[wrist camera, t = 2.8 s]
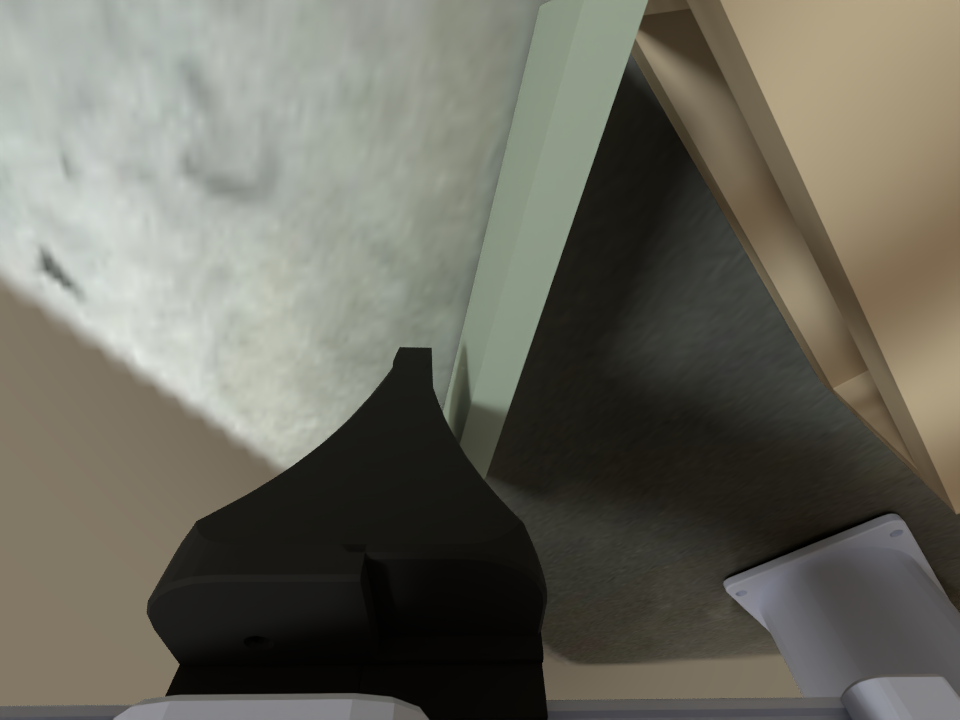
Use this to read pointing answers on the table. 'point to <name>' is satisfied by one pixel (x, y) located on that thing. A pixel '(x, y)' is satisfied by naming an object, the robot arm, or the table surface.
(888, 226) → the cabinet
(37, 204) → the table surface
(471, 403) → the cabinet door
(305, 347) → the table surface
